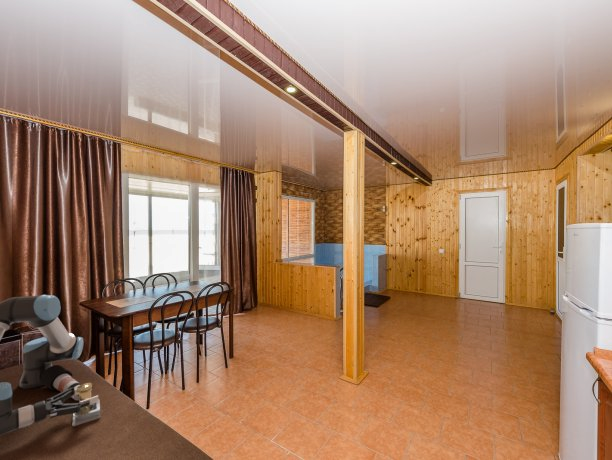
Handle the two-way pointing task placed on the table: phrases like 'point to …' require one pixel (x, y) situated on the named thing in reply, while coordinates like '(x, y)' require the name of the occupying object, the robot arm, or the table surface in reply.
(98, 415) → the keeper bracket
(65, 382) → the cable
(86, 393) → the end pin
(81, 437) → the table surface
